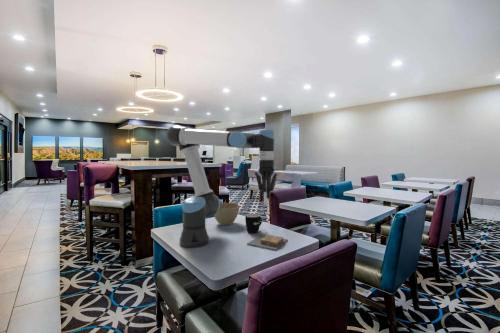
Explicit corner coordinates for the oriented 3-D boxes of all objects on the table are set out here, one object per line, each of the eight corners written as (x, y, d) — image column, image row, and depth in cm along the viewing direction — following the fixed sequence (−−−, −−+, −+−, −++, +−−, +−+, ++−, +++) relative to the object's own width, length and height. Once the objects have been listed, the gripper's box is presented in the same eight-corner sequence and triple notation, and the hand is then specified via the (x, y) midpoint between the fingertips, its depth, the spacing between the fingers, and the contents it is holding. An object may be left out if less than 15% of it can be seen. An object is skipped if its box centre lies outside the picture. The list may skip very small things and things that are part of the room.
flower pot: (206, 223, 165) (206, 205, 164) (228, 218, 177) (228, 201, 177) (222, 229, 152) (222, 210, 151) (244, 223, 164) (244, 205, 163)
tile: (260, 239, 127) (276, 242, 123) (268, 234, 135) (283, 237, 131) (260, 243, 128) (276, 246, 123) (268, 238, 135) (283, 241, 131)
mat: (247, 244, 128) (247, 243, 128) (261, 235, 142) (261, 234, 142) (275, 250, 120) (275, 249, 120) (287, 240, 134) (287, 239, 134)
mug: (252, 235, 142) (252, 218, 141) (242, 231, 148) (242, 215, 148) (266, 230, 150) (266, 214, 150) (256, 227, 157) (256, 211, 156)
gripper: (252, 159, 129) (251, 204, 130) (275, 160, 122) (274, 207, 124) (258, 159, 135) (258, 201, 137) (280, 159, 129) (280, 204, 130)
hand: (266, 204), depth 130 cm, fingers closed
